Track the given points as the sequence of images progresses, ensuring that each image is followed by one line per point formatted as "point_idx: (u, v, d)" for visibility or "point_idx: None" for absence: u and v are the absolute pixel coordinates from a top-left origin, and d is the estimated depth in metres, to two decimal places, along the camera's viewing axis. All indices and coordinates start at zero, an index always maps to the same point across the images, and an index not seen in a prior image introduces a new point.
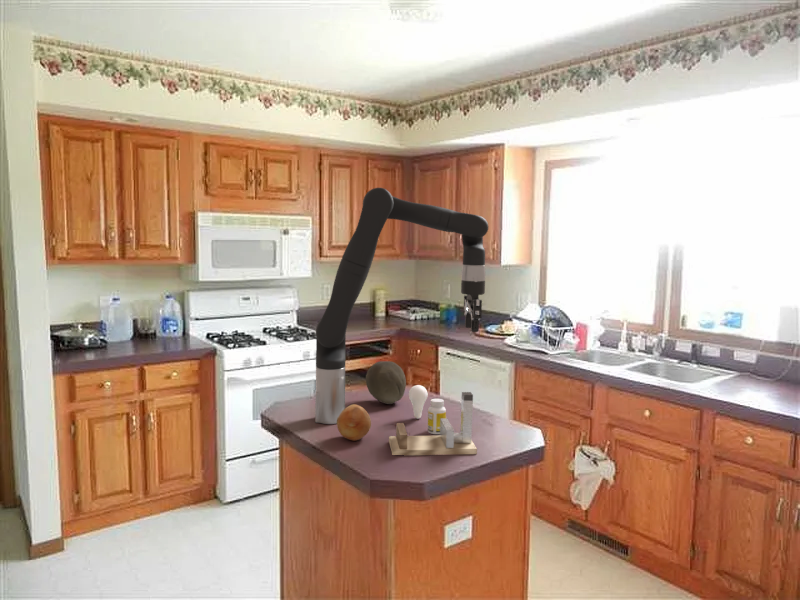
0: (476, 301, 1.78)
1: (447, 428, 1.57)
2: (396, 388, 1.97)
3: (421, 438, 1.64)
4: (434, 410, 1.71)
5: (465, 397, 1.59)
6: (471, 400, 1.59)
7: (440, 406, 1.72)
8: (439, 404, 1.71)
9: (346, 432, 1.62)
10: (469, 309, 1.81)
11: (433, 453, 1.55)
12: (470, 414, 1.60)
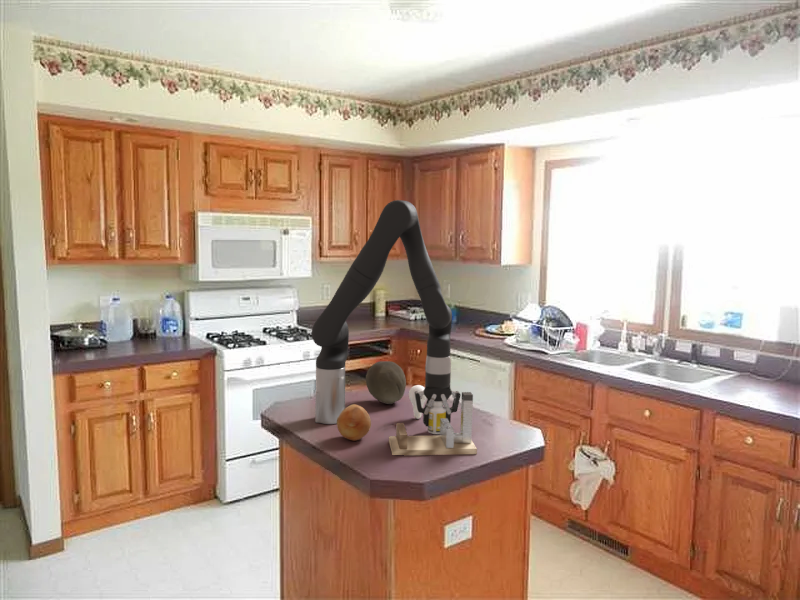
0: None
1: (447, 428, 1.57)
2: (396, 388, 1.97)
3: (421, 438, 1.64)
4: (434, 410, 1.71)
5: (465, 397, 1.59)
6: (471, 400, 1.59)
7: (440, 406, 1.72)
8: (439, 404, 1.71)
9: (346, 432, 1.62)
10: (447, 403, 1.72)
11: (433, 453, 1.55)
12: (470, 414, 1.60)
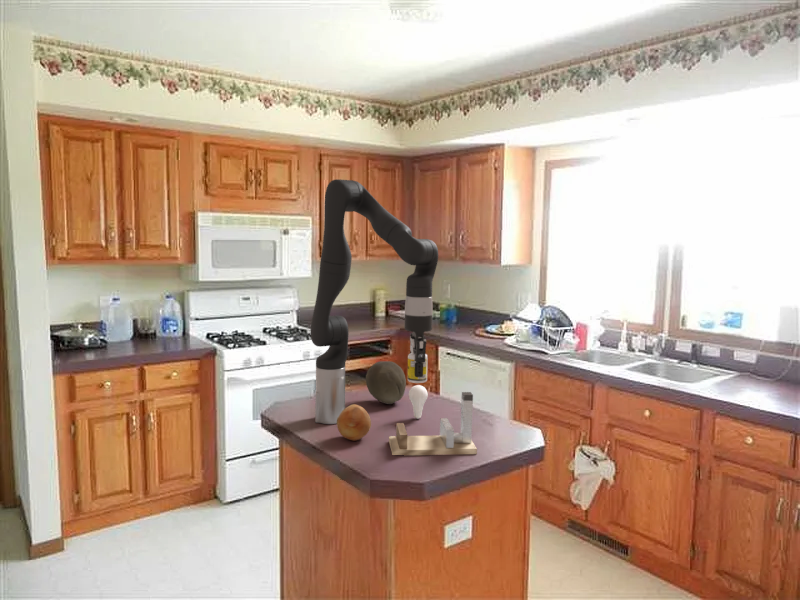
0: None
1: (447, 428, 1.57)
2: (396, 388, 1.97)
3: (421, 438, 1.64)
4: (426, 355, 1.57)
5: (465, 397, 1.59)
6: (471, 400, 1.59)
7: None
8: None
9: (346, 432, 1.62)
10: None
11: (433, 453, 1.55)
12: (470, 414, 1.60)
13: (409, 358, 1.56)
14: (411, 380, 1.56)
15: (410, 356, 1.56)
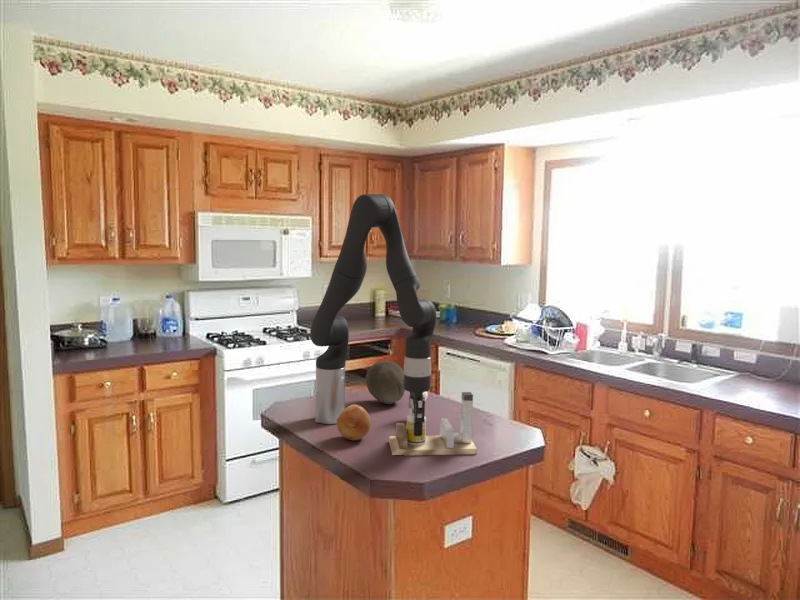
0: None
1: (447, 428, 1.57)
2: (396, 388, 1.97)
3: None
4: (424, 417, 1.59)
5: (465, 397, 1.59)
6: (471, 400, 1.59)
7: None
8: None
9: (346, 432, 1.62)
10: None
11: (433, 453, 1.55)
12: (470, 414, 1.60)
13: (408, 420, 1.58)
14: (410, 442, 1.58)
15: (409, 419, 1.58)
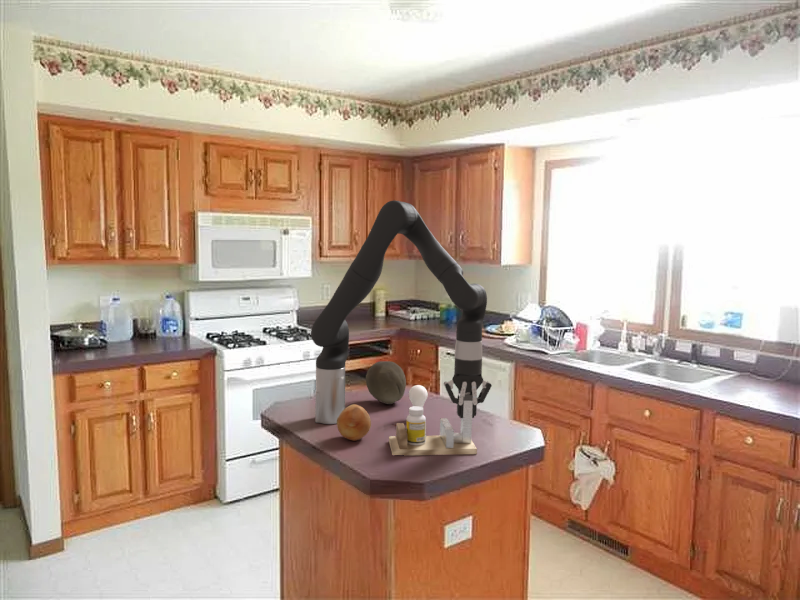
0: None
1: (447, 428, 1.57)
2: (396, 388, 1.97)
3: None
4: (424, 417, 1.59)
5: (465, 397, 1.59)
6: (471, 400, 1.59)
7: None
8: None
9: (346, 432, 1.62)
10: (475, 393, 1.59)
11: (433, 453, 1.55)
12: (470, 414, 1.60)
13: (408, 421, 1.58)
14: (410, 442, 1.58)
15: (409, 419, 1.58)
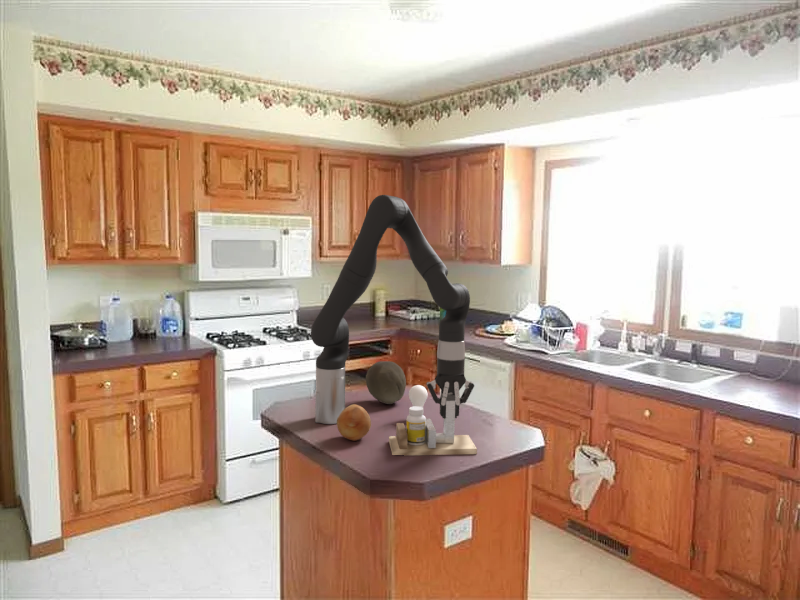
0: None
1: (429, 428, 1.56)
2: (396, 388, 1.97)
3: None
4: (424, 417, 1.59)
5: (447, 397, 1.58)
6: (453, 400, 1.59)
7: None
8: None
9: (346, 432, 1.62)
10: (458, 393, 1.58)
11: (433, 453, 1.55)
12: (453, 414, 1.59)
13: (408, 421, 1.58)
14: (410, 442, 1.58)
15: (409, 419, 1.58)
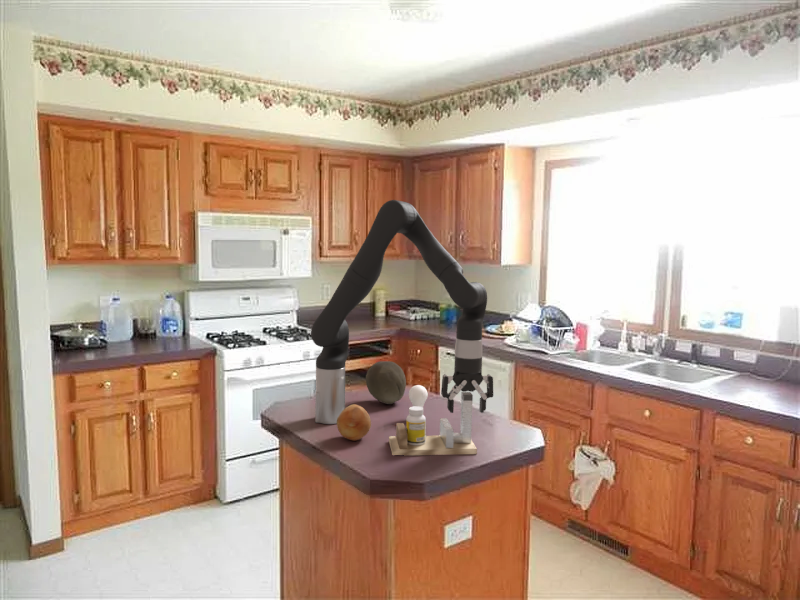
0: None
1: (447, 428, 1.57)
2: (396, 388, 1.97)
3: None
4: (424, 417, 1.59)
5: (465, 397, 1.59)
6: (471, 400, 1.59)
7: None
8: None
9: (346, 432, 1.62)
10: (480, 389, 1.59)
11: (433, 453, 1.55)
12: (470, 414, 1.59)
13: (408, 421, 1.58)
14: (410, 442, 1.58)
15: (409, 419, 1.58)
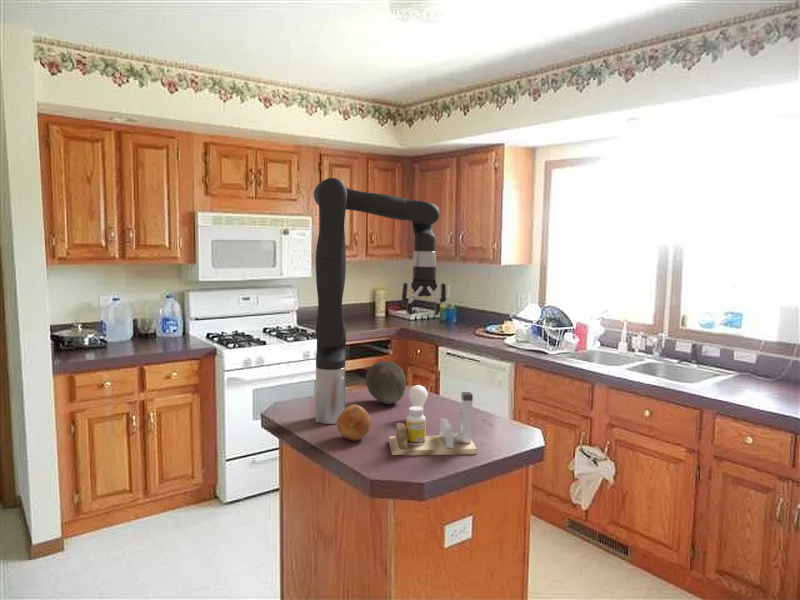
0: (444, 285, 1.89)
1: (447, 428, 1.57)
2: (396, 388, 1.97)
3: None
4: (424, 417, 1.59)
5: (465, 397, 1.59)
6: (471, 400, 1.59)
7: None
8: None
9: (346, 432, 1.62)
10: (434, 294, 1.87)
11: (433, 453, 1.55)
12: (470, 414, 1.59)
13: (408, 421, 1.58)
14: (410, 442, 1.58)
15: (409, 419, 1.58)
